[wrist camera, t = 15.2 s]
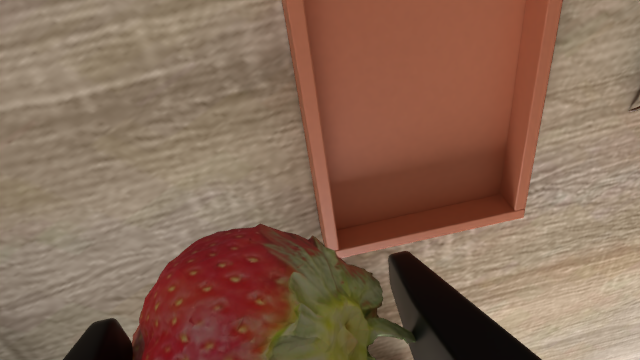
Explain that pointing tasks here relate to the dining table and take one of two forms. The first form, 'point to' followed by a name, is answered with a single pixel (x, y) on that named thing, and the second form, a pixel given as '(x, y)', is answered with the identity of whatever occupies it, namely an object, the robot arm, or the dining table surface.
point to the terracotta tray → (419, 112)
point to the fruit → (261, 302)
